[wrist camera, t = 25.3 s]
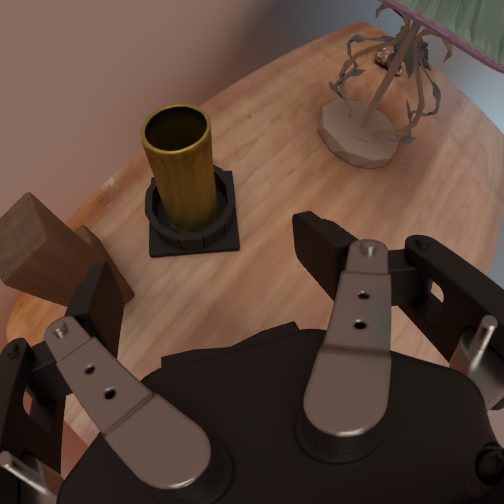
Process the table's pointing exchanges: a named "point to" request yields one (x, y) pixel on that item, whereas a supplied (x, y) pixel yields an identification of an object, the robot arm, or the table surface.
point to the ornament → (383, 55)
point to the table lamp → (409, 72)
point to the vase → (182, 165)
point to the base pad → (206, 241)
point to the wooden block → (48, 253)
